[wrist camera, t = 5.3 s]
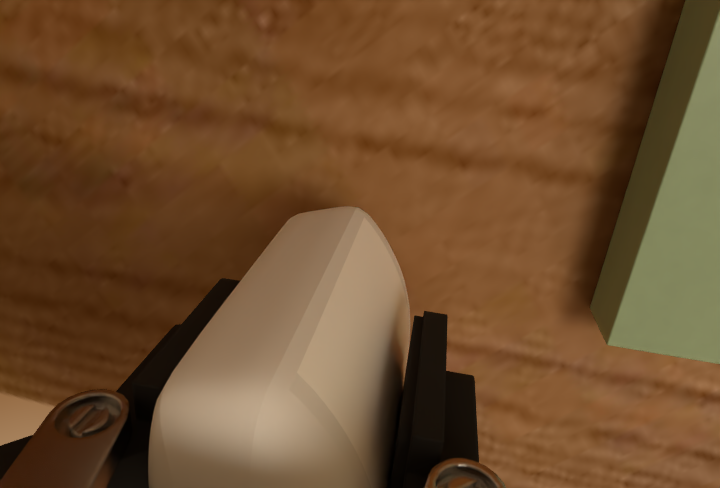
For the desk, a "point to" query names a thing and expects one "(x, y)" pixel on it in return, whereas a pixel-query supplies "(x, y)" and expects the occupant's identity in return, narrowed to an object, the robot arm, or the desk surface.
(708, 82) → the board
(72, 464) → the robot arm
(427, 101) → the desk surface
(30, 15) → the desk surface
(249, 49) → the desk surface
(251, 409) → the eye dropper bottle
